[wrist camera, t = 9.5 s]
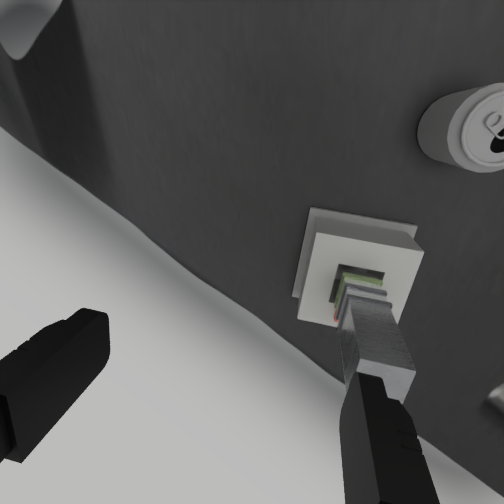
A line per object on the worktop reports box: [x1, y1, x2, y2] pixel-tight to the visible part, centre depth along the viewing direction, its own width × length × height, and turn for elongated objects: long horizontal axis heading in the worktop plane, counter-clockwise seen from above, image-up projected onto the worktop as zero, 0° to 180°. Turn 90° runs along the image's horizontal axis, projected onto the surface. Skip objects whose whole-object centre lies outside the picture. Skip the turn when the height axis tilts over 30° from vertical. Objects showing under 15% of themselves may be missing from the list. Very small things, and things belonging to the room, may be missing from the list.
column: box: [334, 269, 416, 404], centre depth 31 cm, size 4×4×16 cm
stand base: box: [292, 206, 424, 327], centre depth 42 cm, size 14×14×9 cm
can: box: [417, 83, 504, 172], centre depth 32 cm, size 8×8×12 cm
